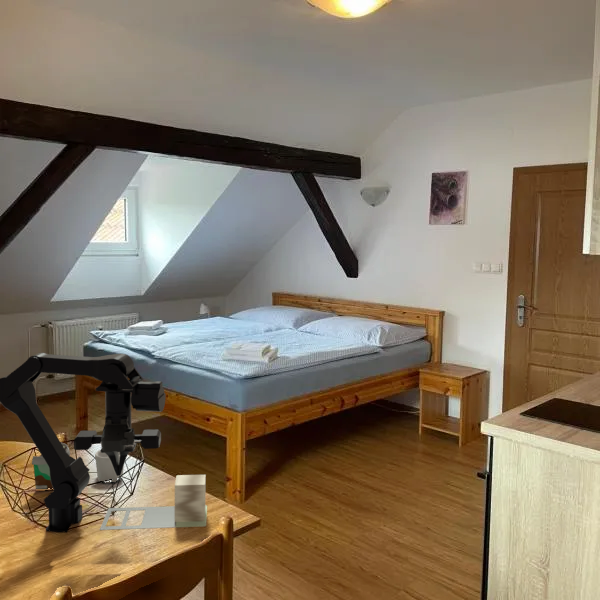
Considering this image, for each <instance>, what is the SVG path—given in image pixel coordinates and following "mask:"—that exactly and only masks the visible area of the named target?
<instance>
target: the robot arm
mask: <svg viewBox="0 0 600 600" xmlns="http://www.w3.org/2000/svg"><path fill="white" fill-rule="evenodd" d="M42 373H44V374H46V373H48V374H59V375H70V376H71V375H73V376H75V375H76V376H87V377H91V378H94V379H95V380H98V381H101V382H100V384H99V385H98V386H97V387H96V388H95V391H96V392H104V393H105V394H104V396H105V397H104V398H105V399H104V403H105V405H104V407H105V409H104V412H105V414H104V415H105V419H104V426H103V429H102V434H98V431H97V430H96V429H95V430H80V431H79V432H78V434H77V435H76V436H75V437H74V440H73V449H74V450H75V451H88V450H89V449H90V448H92V446H93V445H98V444H99V445H100V446H101V447H100V451H101V453H106V454H107V455H108V457H109V458H110V460H111V462H112V465H113V467H114V470H115V473H116V475H117V476H120V475H121V473H122V470H123V471H124V469H123V466H124V467H125V463H126V460H127V457H128V455H129V453H133V452H134V451H135V448H136V446H137V444H140V446H141V447H142V448H143V449H144V450H147V449H149V450H151V449H159V448H160V445H161V442H162V432H161V431H160V430H159V429H143V431H142V433H141V434H135V429H134V428H133V427H132V409H133V410H134V409H135V411H136V412H137V411H138V412H153V413H154V412H157V413H161V412H163V411H164V408H165V405H166V404H165V403H166V393H165V388H164V387H163V381H161V380H160V381H157V380H156V381H144V378H143V377H142V376H141V374H140V373H139V372H138V370H137V368H136V367H135V363H134V361H133V359H132V357H130V355H128V354H126V353H113V354H108V355H102V356H94V357H93V356H82V355H81V356H79V355H65V354H51V353H46V352H38V353H35V354H33V355H31V356H29V357H28V358H27V359H26V361H25V362H23V363H22V364H21V365H20V366H18V367H17V368H15V370H13V371H12V372H10V374H7V375H5V376H3V377H1V378H0V404H1V405H2V406H3V407H4V408H5V409H7V410H8V411H10V413H11V412H12V413H13V414H15V416H17V418H18V419H19V421H20V422H21V424H22V425H23V428H24V429H25V430H26V432H27V434H28V436H29V437H30V439H31V441H32V442H33V444H34V445H35V447H36V449H37V451H38V452H39V453H40V455H42V457H43V458H44V460H45V461H46V463H47V465H48V466H49V471H50V481H51V484H52V486H53V489H54V490H52V492H51V493H49V494H48V495H47V496H46V497H45V498H44V499H43V502H44V505H45V507H46V508H47V509H48V525H47V527H46V528H45V532H52V533H53V532H54V533H68V531H69V530H70V528H71V525H75V524H79V523H80V521H82V519H83V505H82V504H81V498H80V497H78V496H80V495H81V494H82V492H83V491H84V489H86V488H87V486H88V485H89V484H90V479H91V477H90V476H91V475H90V472H89V471H90V469H89V468H88V467H87V466H86V464H85V461H84V459H83V457H81V456H78V457H77V458H76V459H75V458H74V457H72V456H71V455H70V456H69V455H68V454H67V452H66V450H65V449H64V447H63V446H62V444H61V443H62V442H61V441H60V439H59V437H58V436H57V434H56V433H55V431H54V430H53V428H52V426H51V424H50V423H49V421H48V419H47V418H46V416H45V414H44V413H43V411H42V409H41V408H40V407H39V405H38V403H37V395H36V394H37V393H36V388H35V387H34V382H35V380H37V379H38V378H39V377H40V376H41V374H42ZM118 452H120V460H119V454H118Z"/></svg>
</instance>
